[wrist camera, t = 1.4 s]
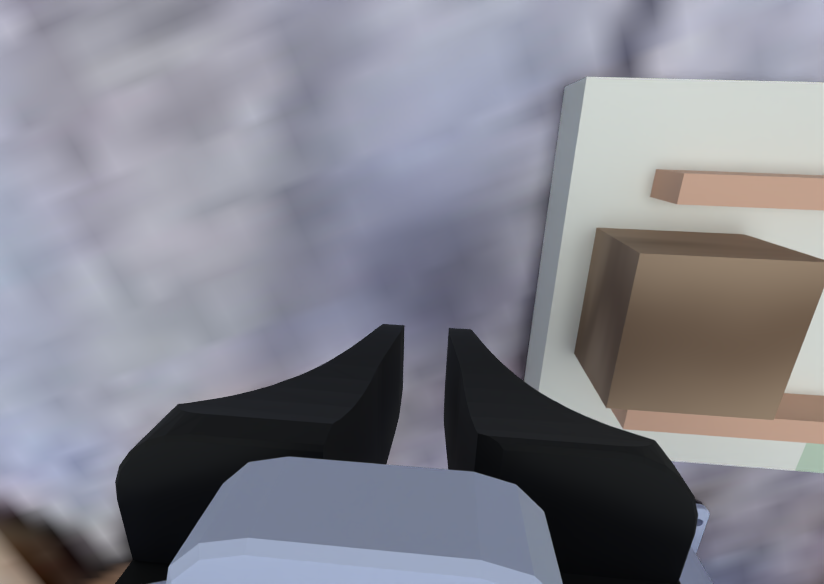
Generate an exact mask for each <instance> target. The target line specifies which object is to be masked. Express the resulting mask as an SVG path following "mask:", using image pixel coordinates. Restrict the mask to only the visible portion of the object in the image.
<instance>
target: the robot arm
mask: <svg viewBox="0 0 824 584" xmlns="http://www.w3.org/2000/svg"><path fill="white" fill-rule="evenodd" d="M403 360H404V325H389V324H382V325H381V326H379V327H378V328H377V329H375V330H374V331H373V332H372V333H370V334H369V335H368V336H366V337H365V338H364V339H362V340H361V341H359V342H358V343H357V344H355V345H354V346H353V347H351V348H349V349H348V350H346V351H345V352H343V353H342V354H340V355H338V356H337V357H335V358H334V359H332V360H330V361H329V362H327V363H325V364H323V365H321V366H319V367H317V368H315V369H313V370H311V371H308V372H306V373H304V374H302V375H299V376H297V377H294V378H291V379H288V380H286V381H283V382H280V383H277V384H274V385H272V386H268V387H265V388H261V389H258V390H254V391H250V392H246V393H242V394H237V395H233V396H228V397H223V398H217V399H211V400H204V401H198V402H192V403H184V404H178V405H177V406H176V407H175V408H174V409H172V410H171V411H170V412H169V413H168V414H167V415H166V416H165V417H164V418H163V419H162V420H161V421H160V422H159V423H158V424H157V425H156V426H155V427H154V428H153V429H152V430H151V431H150V432H149V433H148V434H147V435H146V436H145V437H144V438H143V439H142V440H141V441H140V442H139V443H138V444H137V445H136V446H135V447H134V448H133V449H132V450H131V451H130V452H129V453H128V454H127V456H126V457H125V459H124V460H123V461H122V463H121V464H120V466H119V470H118V474H117V478H116V482H115V483H116V493H117V501H118V505H119V508H120V512H121V516H122V520H123V524H124V528H125V531H126V535H127V539H128V543H129V547H130V550H131V554H132V558H133V561H132V562H131V563H130V565H129V566H128V567H127V569H126V570H125V571H124V573H123V574H122V575H121V577H120V578H119V579H118V581H117V582H116V583H115V584H713V582H712V580H711V579H710V577H709V575H708V574H707V572H706V570H705V569H704V567H703V565H702V564H701V562H700V560H699V559H698V557H697V555H696V552H697V550H698V547H699V544H700V541H701V538H702V535H703V533H704V530H705V527H706V524H707V521H708V518H709V514H710V513H709V511H708V510H707V508H706V507H705V506H704V505H702V504H696V502H695V497H694V495H693V494H692V492H691V491H690V489H689V488H688V486H687V484H686V483H685V481H684V480H683V478H682V477H681V475H680V474H679V472H678V471H677V469H676V468H675V466H674V465H673V463H672V462H671V460H670V459H669V458H668V456H667V455H666V454H665V452H664V451H663V450H662V448H661V447H660V446H659V445H658V443H657V442H656V441H655V440H653V439H650V438H647V437H643V436H640V435H637V434H634V433H631V432H628V431H625V430H621V429H618V428H615V427H612V426H609V425H607V424H604V423H602V422H599V421H597V420H594V419H592V418H589V417H587V416H584V415H582V414H580V413H578V412H576V411H574V410H571V409H569V408H567V407H565V406H563V405H562V404H560V403H558V402H556V401H554V400H552V399H550V398H549V397H547V396H545V395H544V394H542V393H540V392H539V391H537V390H536V389H534V388H533V387H531V386H530V385H528V384H527V383H526V382H524V381H523V380H521V379H520V378H519V377H517V376H516V375H515V374H514V373H513V372H511V371H510V370H509V369H508V368H507V367H506V366H505V365H503V364H502V363H501V362H500V361H499V360H498V359H497V358H496V357H495V356H494V355H493V354H492V353H491V352H490V351H489V350H488V349H487V347H486V346H485V345H484V344H483V343H482V342H481V341H480V339H479V338H478V337H477V336H476V335H475V333H474V332H473V331H472V330H471V329H455V328H449V335H448V350H447V365H446V380H445V399H444V429H445V439H446V450H447V460H448V470H446V469H434V468H422V467H410V466H398V465H386V463H387V460H388V456H389V452H390V449H391V445H392V442H393V438H394V434H395V430H396V427H397V423H398V419H399V413H400V406H401V398H402V390H403Z"/></svg>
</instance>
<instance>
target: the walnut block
mask: <svg viewBox="0 0 824 584" xmlns="http://www.w3.org/2000/svg"><path fill="white" fill-rule="evenodd" d="M823 289H824V260H823V259H820V258H817V257H814V256H811V255H808V254H805V253H801V252H798V251H795V250H792V249H789V248H786V247H783V246H780V245H776V244H773V243H770V242H767V241H764V240H761V239H758V238H755V237H752V236H748V235H745V234H728V233H706V232H684V231H662V230H640V229H618V228H596V234H595V239H594V245H593V250H592V256H591V262H590V267H589V273H588V278H587V284H586V289H585V295H584V301H583V306H582V312H581V317H580V323H579V328H578V334H577V339H576V345H575V351H574V354H575V356H576V358H577V359H578V361H579V363H580V365H581V366H582V368H583V370H584V371H585V373H586V375H587V376H588V378H589V380H590V382H591V383H592V385H593V387H594V388H595V390H596V392H597V393H598V395H599V397H600V399H601V400H602V402H603V404H604V405H605V407H606V408H611V409H625V410H639V411H653V412H667V413H681V414H695V415H709V416H723V417H737V418H751V419H765V420H774V418H775V415H776V413H777V410H778V407H779V405H780V402H781V399H782V397H783V394H784V392H785V389H786V386H787V384H788V381H789V378H790V376H791V373H792V371H793V368H794V365H795V363H796V360H797V357H798V355H799V352H800V350H801V347H802V344H803V342H804V339H805V336H806V334H807V331H808V328H809V326H810V323H811V321H812V318H813V315H814V313H815V310H816V307H817V305H818V302H819V300H820V297H821V294H822V292H823Z"/></svg>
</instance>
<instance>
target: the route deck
mask: <svg viewBox="0 0 824 584" xmlns="http://www.w3.org/2000/svg"><path fill="white" fill-rule="evenodd" d="M596 228H618V229H640V230H662V231H684V232H706V233H728V234H745V235H748V236H752V237H755V238H758V239H761V240H764V241H767V242H770V243H773V244H776V245H780V246H783V247H786V248H789V249H792V250H795V251H798V252H801V253H805V254H808V255H811V256H814V257H817V258H820V259H823V260H824V82H785V81H742V80H700V79H657V78H614V77H585V78H583V79H581V80H579V81H576V82H574V83H572V84H570V85H568V86H565V88H564V95H563V102H562V110H561V117H560V124H559V131H558V139H557V146H556V153H555V160H554V167H553V175H552V182H551V189H550V196H549V204H548V211H547V218H546V225H545V233H544V240H543V247H542V254H541V261H540V269H539V276H538V283H537V290H536V298H535V305H534V312H533V319H532V326H531V334H530V341H529V348H528V355H527V363H526V370H525V377H524V382H526V383H527V384H528V385H530V386H531V387H533V388H534V389H536V390H537V391H539V392H540V393H542V394H544V395H545V396H547V397H549V398H550V399H552V400H554V401H556V402H558V403H560V404H562V405H563V406H565V407H567V408H569V409H571V410H574V411H576V412H578V413H580V414H582V415H584V416H587V417H589V418H592V419H594V420H597V421H599V422H602V423H604V424H607V425H609V426H612V427H615V428H618V429H621V430H625V431H628V432H631V433H634V434H637V435H640V436H643V437H647V438H650V439H653V440H655V441H656V442H657V443H658V445H659V446H660V447H661V448H662V450H663V451H664V452H665V454H666V455H667V456H668V458H669V459H670V460H671V461H677V462H690V463H702V464H715V465H728V466H741V467H753V468H766V469H779V470H791V471H804V472H817V473H824V289H823V292H822V294H821V297H820V300H819V302H818V305H817V307H816V310H815V313H814V315H813V318H812V321H811V323H810V326H809V328H808V331H807V334H806V336H805V339H804V342H803V344H802V347H801V350H800V352H799V355H798V357H797V360H796V363H795V365H794V368H793V371H792V373H791V376H790V378H789V381H788V384H787V386H786V389H785V392H784V394H783V397H782V399H781V402H780V405H779V407H778V410H777V413H776V415H775V418H774V420H765V419H751V418H737V417H723V416H709V415H695V414H681V413H667V412H653V411H639V410H625V409H611V408H606V407H605V405H604V404H603V402H602V400H601V399H600V397H599V395H598V393H597V392H596V390H595V388H594V387H593V385H592V383H591V382H590V380H589V378H588V376H587V375H586V373H585V371H584V370H583V368H582V366H581V365H580V363H579V361H578V359H577V358H576V356H575V354H574V351H575V345H576V339H577V334H578V328H579V323H580V317H581V312H582V306H583V301H584V295H585V289H586V284H587V278H588V273H589V267H590V262H591V256H592V250H593V245H594V239H595V234H596Z"/></svg>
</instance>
